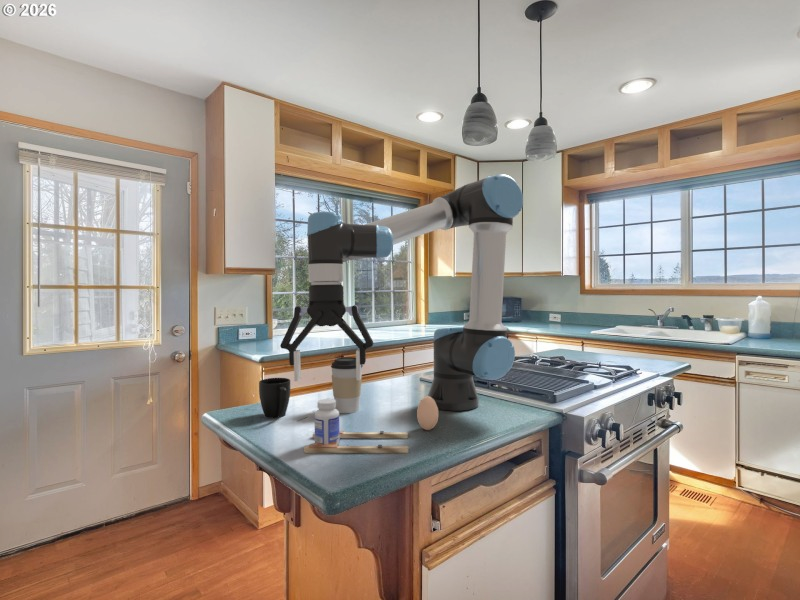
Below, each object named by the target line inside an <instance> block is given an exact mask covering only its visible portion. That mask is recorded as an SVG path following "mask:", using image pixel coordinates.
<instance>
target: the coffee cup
mask: <svg viewBox="0 0 800 600" xmlns="http://www.w3.org/2000/svg"><path fill="white" fill-rule="evenodd" d="M363 366H364V364H361V379H360V380H357V379H356V356H355V357H354V356H342V357H337V358H335V359H334V361H333V362H331V366H330V368H331V384H332V394H333V399H334V400H335V401H336V407H335V409H337V410H338V411H339V414H351V413H356V412H358V411H360V402H361V401H360V399H361V392H362V391H361V390H362V381H363V380H362V379H363V374H362V372H363Z"/></svg>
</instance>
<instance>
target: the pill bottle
mask: <svg viewBox="0 0 800 600" xmlns="http://www.w3.org/2000/svg"><path fill="white" fill-rule="evenodd" d="M335 407H336V401H335V400H334V398H322V399H319V400H318V401H317V409H316V411H315V412H314V432H315V438H314V445H338V446H339V444H340V438H339V431H340V413H339V411H338V410H337V409H335Z"/></svg>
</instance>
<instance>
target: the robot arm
mask: <svg viewBox="0 0 800 600" xmlns="http://www.w3.org/2000/svg"><path fill="white" fill-rule="evenodd" d="M523 205H524V194H523V192H522V189H521V186H520V185H519V184H518V183H517V181H516V180H515V179H514V178H513V177H511V176H510V175H507V174H503V173H500V174H495V175H489V176H487V177H485V178H482V179H479V180H476V181H474V182H471V183H467V184H464V185H462V186H459V187H458V188H456V189H454V190H453V191H450V192H448V193H446V194H444V195H441V196H438V197H436V198H434V199H433V200H432V203H428V204H425V205H422V206H419V207H415V208H412V209H410V210H406V211H402V212H399V213H396V214H393V215H391V216H388V217H387V216H386V217H383V218H381V219H378V220H375V221H371V222H368V223H365V224H354V223H353V224H351V223H346V222H344V220H343V216H342V215H341V213H339V212H334V211H317V212H313V213H310V215H308V217H307V234H306V236H307V254H308V257H307V258H308V264H307V265H308V282H309V283H311V285H310V284H309V286H308V303H309V304H308V306H307V307H306V306H305V307H304V306H301V305H298V306H295V307H294V310H293V318H292V319H291V321H290V324H289V326H288V328H287V330H286V333H285V334H284V336H283V338H282V340H281V343H280V345H279V347H280V348H281V349H284V350H286V351H288V353H289V355H288V356H289V361H288V362H289V363H288V364H289V366H293V370H294V371H293V373H294V374H293V375H294V377H293V378H294V380H293V381H294V382H299V381H300V380H301V379H302V377H301V374H302V373H301V372H302V371H301V349H297V348H298V347H299V346H300V344H301V343H302V342H303V341H304V340H305V339H306V338H307V336H308V335H309V333H310V332H311V331H312V330H313V329H314V328H315V326H316V325H317V326H318V327H325V326H326V327H327V326H328V327H334V326H336V325H337V326H338V327H339V328H340V329H341V330H342V331H343V332H344V334H345V335H347V337H348V338H349V339H350V340H351V342H353V343H354V345H355V346H356V347H357V349H356V350H355V358H356V379H357V380H360V379H361V364H362V365H365V364H366V361H367V360H366V359H367V357H366V354H367V353H366V350H367V349H369V348H372V347H373V346H374V341H373V339H372V337H371V335H370V332H369V331H368V329H367V327H366V325H365V323H364V322H363V319H362V318H361V316H360V312H359V306H358V305H357V304H354V305H349V306H346V305H345V302H344V300H345V299H344V298H345V297H344V295H345V294H344V285H343V284H341V283H343V282H344V262H348V261H354V260H360V259H361V260H362V259H381V258H382V259H383V258H384V259H385V258H388V257H389V256H390V255H391V253H392V251H393V247H394V245H396V244H400V243H403V242H405V241H408V240H409V241H410V239H414V238H417V237H420V236H422V235H426V234H429V233H431V232H434V231H437V230H443V231H447V230H450V229H454V228H458V227H464V226H465V227H467V226H468V228H469V230H470V231H471V232H473V245H472V246H473V248H472V262H471V263H472V264H471V265H472V266H471V280H470V281H471V282H470V284H471V285H470V297H469V298H470V299H469V300H470V301H469V302H470V303H469V316H468V317H469V319H468V322H466V324H465V325H463V326H458V327H457V326H456V327H455V326H454V327H445V328H443V327H442V328H437V329H435V331H434V333H433V340H432V343H433V378H432V382H431V385H430V388H429V391H428V394H427V396H429V397H431V398H433V399H434V401H435V402H436V405H437V407H438V410H443V411H451V412H452V411H453V412H455V411H460V412H461V411H470V410H473V409H476V408H478V407H479V395H478V394H479V393H478V391H477V388H476V386H475V385H476V384H475V381H474V377H477V378H478V379H481V380H489V381H495V380H500V379H501V378H503V377H504V376H506V375H507V373H508V372H509V371H510V370H511V369H512V367H513V364H514V361H515V358H516V357H515V356H516V351H515V347H514V345H513V342H512V341H511V340H510V339H509V338H507V335H508V334H507V333H508V329H507V327H505V325H504V324H503V323H502V319H503V299H504V282H505V265H506V264H505V263H506V261H505V260H506V248H507V247H506V243H507V234H508V233H509V232H510V231H511V230H513V227H514V226H513V223H514V222H513V221H514V218H515V217H516V216H518V215H519V213H520V212H521V211H522V210H523V209H522V208H523ZM346 312H347V313H348V315H349V316H352V318H353V321H354V323H355V324H356V327H357V328H358V331H359V333H360V334H361V336H362V338H363V340H364V341H365V342H364V341H363V340H362V339H361V338H360V337H359V336H358V335H357V334H356V332H355V331H354V330H353V329H352V327H350V325H349V324H348V323H347V322H346V320H345V319H344V318H343V317H344V315H345V314H346ZM306 313H307V315H308V316H310V318H311V319H310V320H309V322H308V323H306V325H305V326H304V328H303V329H302V330H301V332H300V333H299V334H298V335H297V337H295V339H294V341H292V338H293V337H294V334H295V332H296V330H297V328H298V326H299V324H300V322H301V319H302V318H303V317H304V316H305V315H306ZM291 341H292V343H291Z"/></svg>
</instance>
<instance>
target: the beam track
mask: <svg viewBox="0 0 800 600" xmlns="http://www.w3.org/2000/svg"><path fill="white" fill-rule="evenodd" d="M408 434H409V433H408V431H405V432H403V431H402V432H401V431H400V432H398V431H396V432H394V431H393V432H391V431H390V432H388V431H387V432H385V430H380V431H379V432H378V431H377V432H376V431H375V432H374V431H371V432H370V431H369V432H368V431H367V432H366V431H364V432H363V431H361V432H359V431H357V432H355V431H353V432H352V431H351V432H349V431H346V432H345V431H344V430H339V439H408V437H409V435H408ZM312 439H315V431H314V432H312ZM303 452H304V453H305V454H306V453H307V454H313V453H315V454H323V453H325V454H326V453H327V454H335V453H336V454H338V453H339V454H341V453H342V454H344V453H345V454H361V453H362V454H368V453H369V454H409V446H408V445H383V444H378V445H339V444H338V445H315V444H309V445H305V446H304V448H303Z"/></svg>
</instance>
